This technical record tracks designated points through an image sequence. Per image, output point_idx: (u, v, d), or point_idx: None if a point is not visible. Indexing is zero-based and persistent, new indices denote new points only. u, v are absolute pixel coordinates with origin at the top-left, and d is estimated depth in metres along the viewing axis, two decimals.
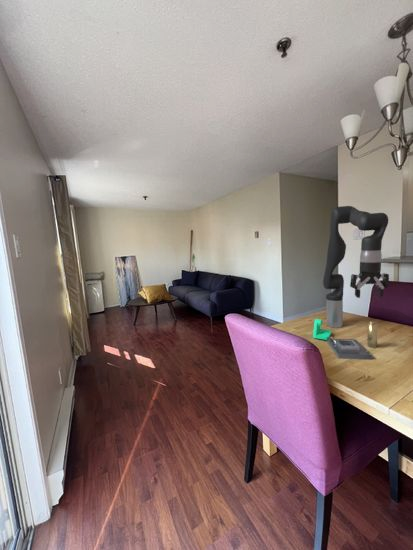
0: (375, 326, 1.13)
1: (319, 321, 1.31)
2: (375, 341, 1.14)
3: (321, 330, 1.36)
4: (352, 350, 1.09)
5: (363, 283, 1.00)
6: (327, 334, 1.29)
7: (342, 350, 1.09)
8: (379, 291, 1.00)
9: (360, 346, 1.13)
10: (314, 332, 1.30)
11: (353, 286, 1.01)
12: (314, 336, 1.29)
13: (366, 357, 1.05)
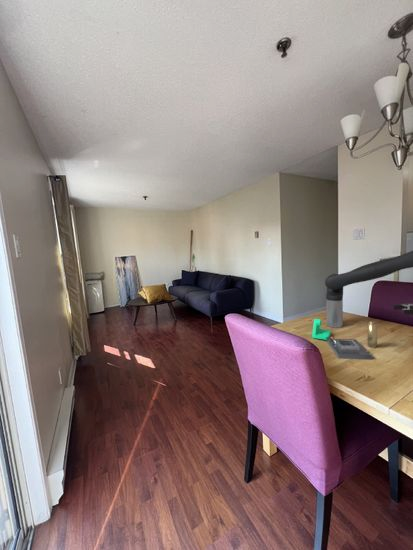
0: (375, 326, 1.13)
1: (318, 321, 1.31)
2: (375, 341, 1.14)
3: (320, 330, 1.36)
4: (352, 350, 1.09)
5: None
6: (326, 334, 1.29)
7: (342, 350, 1.09)
8: (399, 308, 1.15)
9: (360, 346, 1.13)
10: (313, 332, 1.30)
11: None
12: (313, 336, 1.30)
13: (366, 357, 1.05)
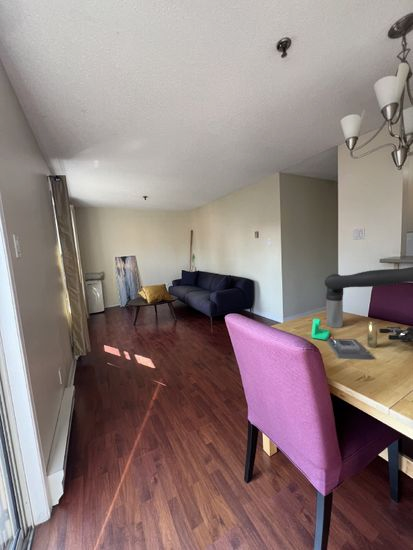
0: (375, 326, 1.13)
1: (318, 321, 1.31)
2: (375, 341, 1.14)
3: (320, 330, 1.36)
4: (352, 350, 1.09)
5: None
6: (325, 334, 1.30)
7: (342, 350, 1.09)
8: (385, 332, 1.18)
9: (360, 346, 1.13)
10: (313, 332, 1.30)
11: None
12: (313, 336, 1.30)
13: (366, 357, 1.05)
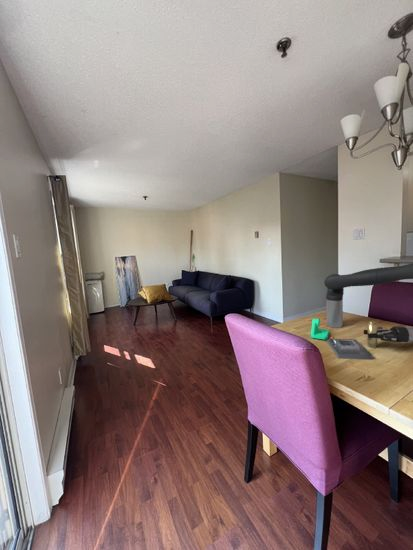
0: (375, 326, 1.13)
1: (317, 321, 1.32)
2: (375, 341, 1.14)
3: (319, 330, 1.36)
4: (352, 350, 1.09)
5: None
6: (325, 334, 1.30)
7: (342, 350, 1.09)
8: None
9: (360, 346, 1.13)
10: (312, 332, 1.31)
11: None
12: (312, 336, 1.30)
13: (366, 357, 1.05)
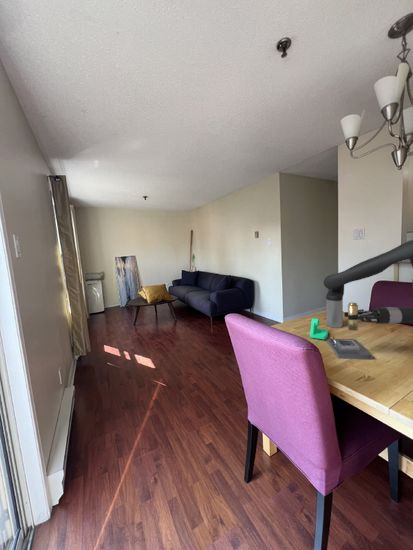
0: (355, 307, 1.09)
1: (316, 321, 1.32)
2: (356, 323, 1.10)
3: (318, 330, 1.36)
4: (352, 350, 1.09)
5: None
6: (324, 334, 1.30)
7: (342, 350, 1.09)
8: None
9: (360, 346, 1.13)
10: (311, 332, 1.31)
11: None
12: (311, 336, 1.30)
13: (366, 357, 1.05)
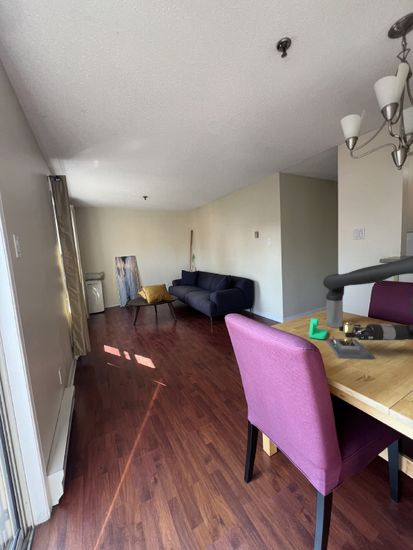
0: (351, 327, 1.09)
1: (315, 321, 1.32)
2: (350, 342, 1.10)
3: (317, 329, 1.37)
4: (352, 350, 1.09)
5: None
6: (323, 333, 1.30)
7: (342, 350, 1.09)
8: None
9: (360, 346, 1.13)
10: (310, 331, 1.31)
11: (360, 339, 1.05)
12: (310, 335, 1.31)
13: (366, 357, 1.05)
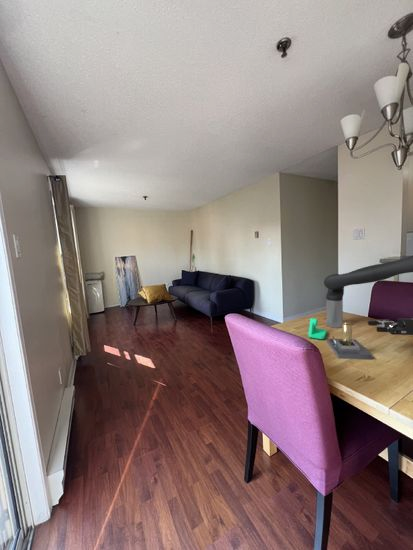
0: (349, 327, 1.10)
1: (314, 320, 1.32)
2: (350, 342, 1.10)
3: (317, 329, 1.37)
4: (352, 350, 1.09)
5: None
6: (322, 333, 1.31)
7: (342, 350, 1.09)
8: (374, 324, 1.13)
9: (360, 346, 1.13)
10: (309, 331, 1.31)
11: None
12: (309, 335, 1.31)
13: (366, 357, 1.05)
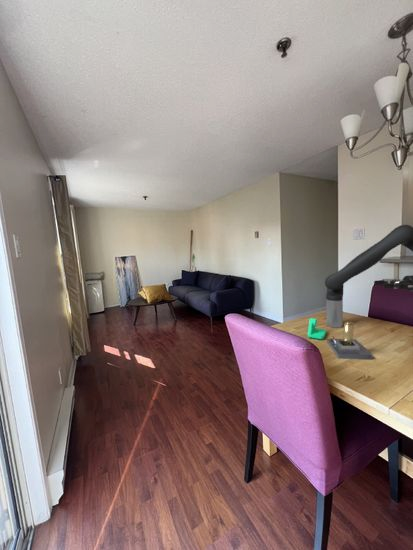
0: (351, 327, 1.09)
1: (314, 320, 1.33)
2: (350, 342, 1.10)
3: (316, 329, 1.37)
4: (352, 350, 1.09)
5: None
6: (322, 333, 1.31)
7: (342, 350, 1.09)
8: (380, 283, 1.15)
9: (360, 346, 1.13)
10: (309, 331, 1.32)
11: None
12: (309, 335, 1.31)
13: (366, 357, 1.05)
